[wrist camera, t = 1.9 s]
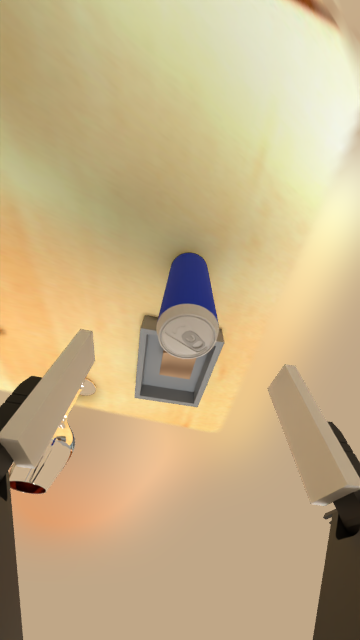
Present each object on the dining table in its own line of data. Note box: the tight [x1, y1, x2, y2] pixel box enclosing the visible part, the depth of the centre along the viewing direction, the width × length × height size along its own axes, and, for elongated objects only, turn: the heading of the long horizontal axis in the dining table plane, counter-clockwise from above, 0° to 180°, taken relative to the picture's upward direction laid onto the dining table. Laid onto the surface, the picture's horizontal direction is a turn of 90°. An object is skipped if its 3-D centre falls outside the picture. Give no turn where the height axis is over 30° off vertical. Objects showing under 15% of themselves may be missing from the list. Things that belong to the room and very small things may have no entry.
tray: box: [135, 315, 224, 407], centre depth 37 cm, size 18×13×4 cm
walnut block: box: [159, 350, 196, 379], centre depth 33 cm, size 5×5×5 cm
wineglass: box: [9, 378, 96, 494], centre depth 37 cm, size 8×8×18 cm
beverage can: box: [156, 253, 219, 359], centre depth 22 cm, size 5×5×15 cm
